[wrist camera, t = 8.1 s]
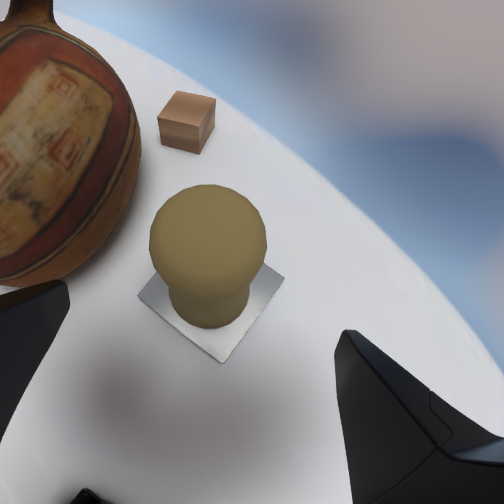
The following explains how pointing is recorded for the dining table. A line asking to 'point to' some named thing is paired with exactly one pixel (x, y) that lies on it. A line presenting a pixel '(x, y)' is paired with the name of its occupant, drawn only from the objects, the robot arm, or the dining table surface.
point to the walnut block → (187, 121)
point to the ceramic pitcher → (58, 147)
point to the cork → (208, 253)
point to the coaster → (224, 337)
